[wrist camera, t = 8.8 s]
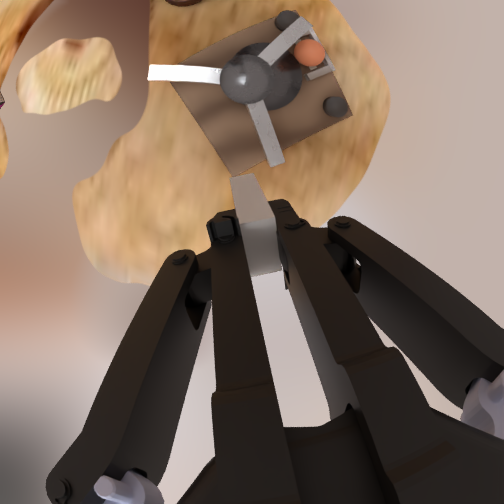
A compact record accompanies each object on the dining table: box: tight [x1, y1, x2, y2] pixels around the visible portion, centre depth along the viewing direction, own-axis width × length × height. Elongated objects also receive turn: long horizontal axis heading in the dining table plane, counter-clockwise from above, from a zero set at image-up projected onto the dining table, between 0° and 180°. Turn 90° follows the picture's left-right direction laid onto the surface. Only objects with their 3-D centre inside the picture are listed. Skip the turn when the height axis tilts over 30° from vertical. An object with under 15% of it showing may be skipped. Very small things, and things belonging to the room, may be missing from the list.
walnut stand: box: [170, 10, 352, 177], centre depth 31 cm, size 18×20×4 cm
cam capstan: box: [148, 16, 313, 167], centre depth 28 cm, size 19×16×8 cm
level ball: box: [294, 39, 325, 67], centre depth 27 cm, size 4×4×4 cm
